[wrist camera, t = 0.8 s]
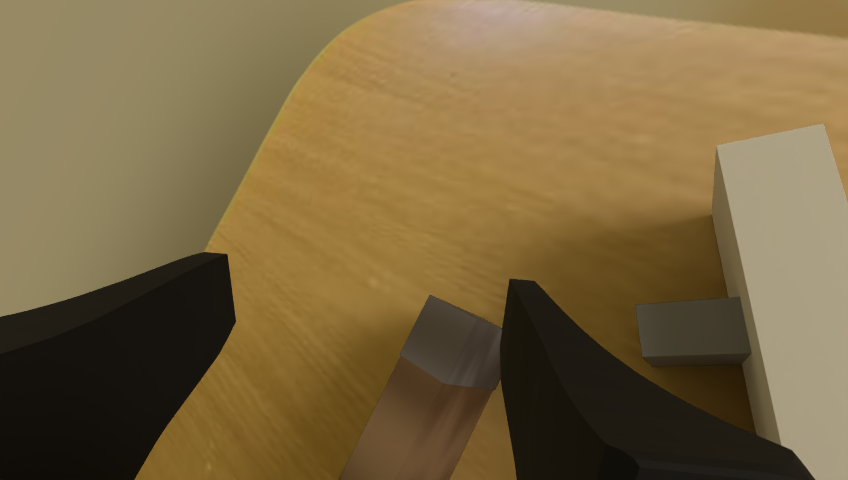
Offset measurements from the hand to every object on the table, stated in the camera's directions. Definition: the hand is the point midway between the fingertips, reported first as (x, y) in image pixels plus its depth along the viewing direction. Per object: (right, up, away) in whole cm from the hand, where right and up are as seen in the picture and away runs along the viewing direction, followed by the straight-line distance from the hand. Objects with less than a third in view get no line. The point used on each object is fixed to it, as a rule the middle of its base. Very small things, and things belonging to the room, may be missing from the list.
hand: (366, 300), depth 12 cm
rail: (+2, -11, +13) cm, 17 cm away
